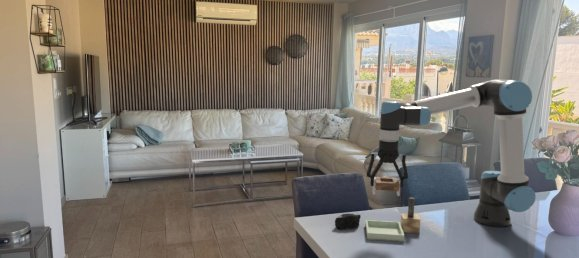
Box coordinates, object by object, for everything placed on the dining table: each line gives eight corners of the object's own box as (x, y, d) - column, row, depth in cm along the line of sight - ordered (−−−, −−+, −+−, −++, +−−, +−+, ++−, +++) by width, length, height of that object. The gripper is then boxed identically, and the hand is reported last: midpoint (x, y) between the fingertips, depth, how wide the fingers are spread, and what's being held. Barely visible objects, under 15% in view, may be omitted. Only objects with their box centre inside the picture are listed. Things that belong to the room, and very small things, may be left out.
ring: (399, 191, 164) (399, 183, 164) (375, 189, 165) (376, 182, 165) (395, 183, 175) (396, 176, 174) (373, 182, 176) (374, 175, 175)
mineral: (353, 233, 173) (354, 219, 173) (333, 229, 177) (333, 216, 176) (360, 225, 182) (361, 212, 182) (341, 221, 186) (341, 209, 186)
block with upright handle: (417, 227, 180) (419, 196, 178) (419, 233, 174) (421, 201, 172) (400, 226, 181) (402, 195, 179) (402, 232, 175) (404, 200, 173)
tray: (399, 228, 179) (399, 221, 179) (404, 242, 165) (404, 235, 165) (365, 226, 181) (365, 219, 181) (367, 239, 167) (367, 233, 166)
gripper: (415, 139, 168) (411, 192, 172) (361, 137, 171) (358, 190, 174) (418, 142, 161) (414, 198, 164) (361, 140, 164) (359, 195, 167)
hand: (385, 194), depth 169 cm, fingers closed on ring, 9 cm apart
